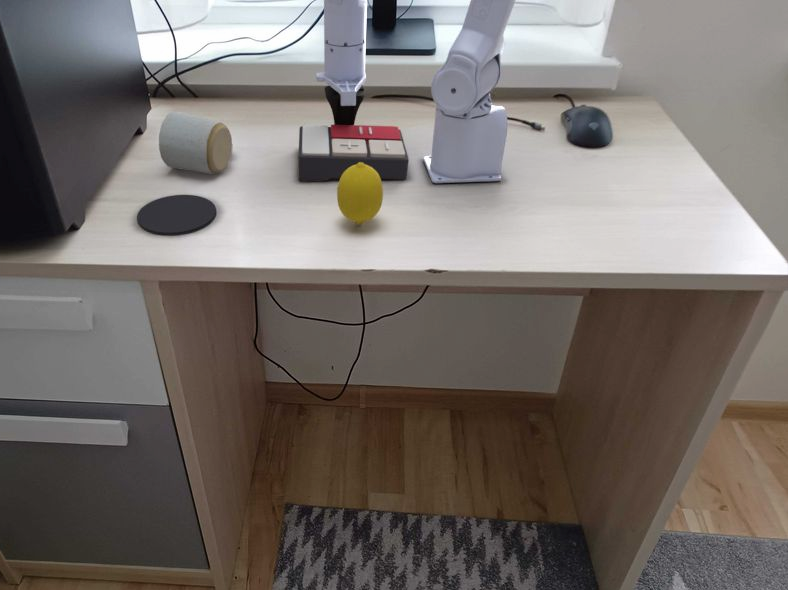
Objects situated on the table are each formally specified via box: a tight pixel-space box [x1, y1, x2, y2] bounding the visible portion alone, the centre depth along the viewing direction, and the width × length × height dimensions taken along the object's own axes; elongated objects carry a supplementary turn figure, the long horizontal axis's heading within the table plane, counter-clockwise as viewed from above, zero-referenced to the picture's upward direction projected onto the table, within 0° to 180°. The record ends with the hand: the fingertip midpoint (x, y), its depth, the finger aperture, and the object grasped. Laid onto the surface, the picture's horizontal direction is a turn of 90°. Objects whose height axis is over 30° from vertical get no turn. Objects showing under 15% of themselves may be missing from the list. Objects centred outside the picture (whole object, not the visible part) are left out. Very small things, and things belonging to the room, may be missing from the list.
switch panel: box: [297, 124, 409, 182], centre depth 93 cm, size 11×4×15 cm
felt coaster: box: [136, 194, 217, 236], centre depth 83 cm, size 10×10×1 cm
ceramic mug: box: [158, 110, 234, 174], centre depth 92 cm, size 11×8×8 cm
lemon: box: [336, 162, 384, 226], centre depth 78 cm, size 6×6×8 cm
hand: (343, 137), depth 98 cm, fingers closed
